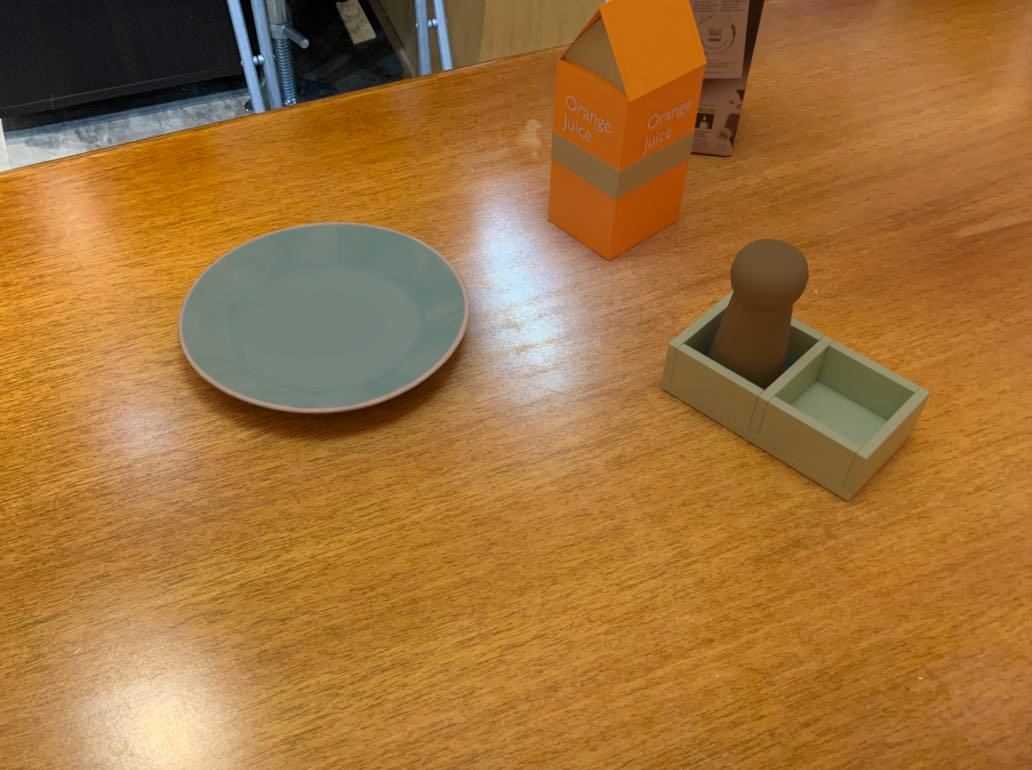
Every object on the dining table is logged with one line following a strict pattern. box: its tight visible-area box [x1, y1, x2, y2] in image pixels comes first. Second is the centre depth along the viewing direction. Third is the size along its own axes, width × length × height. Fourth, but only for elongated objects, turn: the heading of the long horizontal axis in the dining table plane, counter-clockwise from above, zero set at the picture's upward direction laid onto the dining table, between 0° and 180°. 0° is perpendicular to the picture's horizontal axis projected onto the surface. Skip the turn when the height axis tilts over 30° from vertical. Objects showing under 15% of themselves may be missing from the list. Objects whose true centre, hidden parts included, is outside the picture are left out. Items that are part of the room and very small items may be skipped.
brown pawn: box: [707, 238, 810, 391], centre depth 77 cm, size 6×6×11 cm
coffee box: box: [689, 0, 766, 157], centre depth 97 cm, size 9×6×16 cm
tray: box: [660, 290, 931, 503], centre depth 79 cm, size 16×9×4 cm, turn 47°
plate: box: [177, 221, 471, 414], centre depth 84 cm, size 22×22×3 cm
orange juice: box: [547, 0, 707, 262], centre depth 87 cm, size 8×9×20 cm
